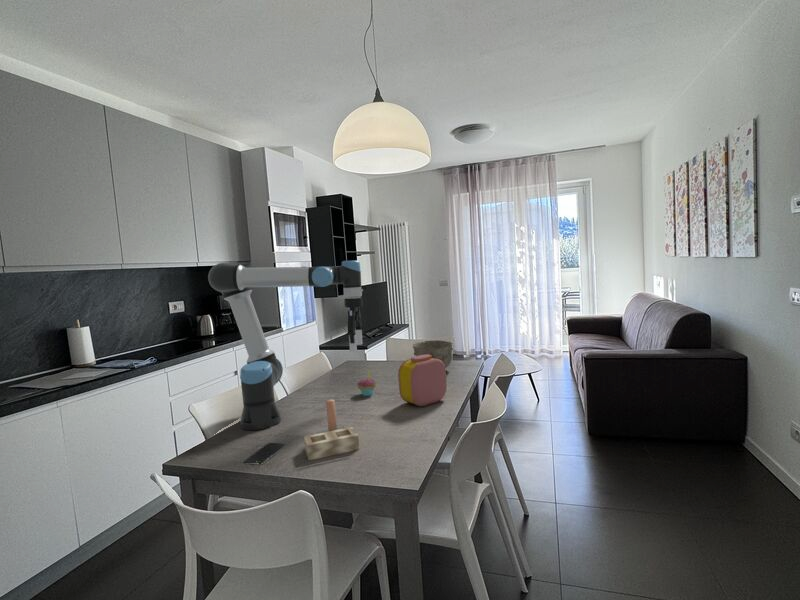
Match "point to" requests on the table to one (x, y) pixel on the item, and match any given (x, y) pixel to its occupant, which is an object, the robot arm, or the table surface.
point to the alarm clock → (422, 380)
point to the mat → (328, 431)
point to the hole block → (331, 443)
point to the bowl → (435, 350)
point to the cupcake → (367, 386)
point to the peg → (331, 415)
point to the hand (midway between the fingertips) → (356, 347)
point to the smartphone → (264, 453)
